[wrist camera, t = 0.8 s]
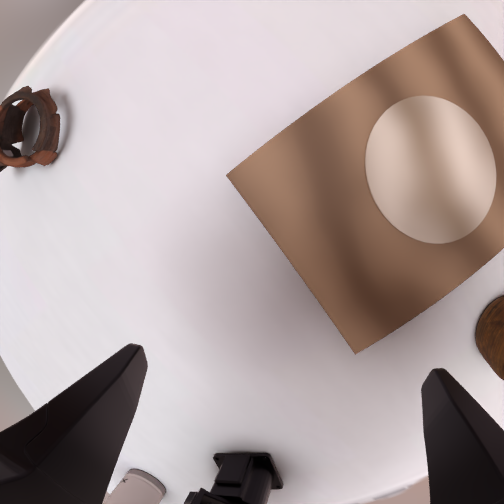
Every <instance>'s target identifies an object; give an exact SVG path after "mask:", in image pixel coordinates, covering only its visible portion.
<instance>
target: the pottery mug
mask: <svg viewBox="0 0 504 504" xmlns="http://www.w3.org/2000/svg"><path fill="white" fill-rule="evenodd" d="M31 92H32V89H31V88H30V87H29V86H26V87H23V88H21V89H20V90H19V91H17V92H15V93H14V94H12V95H10V96H9V97H8V98H6V99H5V100H4V101H3V102H2V104H1V105H0V172H1V171H2V170H3V169H5V168H6V167H7V166H13V167H28V166H31V165H34V164H35V163H38V164H41V165H43V166H45V165H49V164H50V163H51V162H52V161H53V160H54V159H55V158H56V157H57V153H56V152H55V151H56V150H57V148H58V142H59V133H60V115H59V114H56V111H57V106H56V104H55V102H54V101H53V100H52V98H51V96H50V90H49V88H48V89H43V90H39V91H37V92H34V93H31ZM18 100H22V101H20V102H19V103H18V104H17V105H16V106H14V105H12V103H14V102H15V101H18ZM33 104H34V105H35V106H36V108H37V109H38V112H39V116H40V131H39V135H38V138H37V141H36V143H35V145H34V146H33V148H32V150H33V151H36V152H35V153H34V154H32V155H31V156H26V155H25V156H22V155H21V153H20V150H19V149H17V148H15V147H14V146H12V145H11V144H14V143H17V142H22V141H23V135H22V125H23V119H24V116H25V114H26V112H27V111H28V109H29V108H30V107H31V106H32V105H33Z"/></svg>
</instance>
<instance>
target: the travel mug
mask: <svg viewBox="0 0 504 504" xmlns="http://www.w3.org/2000/svg"><path fill="white" fill-rule="evenodd" d="M164 494H165V488H164V486H163V485H162V484H161V483H160V482H159V481H158V480H157V479H156V478H154V477H153V476H151V475H150V474H148V473H146V472H143V471H141V470H136V469H132V470H129V471H128V473H127V474H126V475H125V477H124V478H123V479H122V480H121V481H120V483H119V484H118V485H117V487H116V488H115V489H114V490H113V492H112V493H111V494H110V495H109V497H108V498H107V500H105V502H104V503H103V504H159V502H160V501H161V499H162V498H163V496H164Z"/></svg>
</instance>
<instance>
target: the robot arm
mask: <svg viewBox="0 0 504 504" xmlns="http://www.w3.org/2000/svg"><path fill="white" fill-rule="evenodd" d="M147 367H148V364H147V360H146V356H145V352H144V349H143V347H142V346H141V345H137V344H132V343H130V344H128V345H126V346H125V347H124V348H122V349H121V350H119V351H118V352H117V353H115V354H114V355H113V356H111V357H110V358H108V359H107V360H106V361H104V362H103V363H101V364H100V365H99V366H97V367H96V368H95V369H93V370H92V371H90V372H89V373H88V374H86V375H85V376H83V377H82V378H81V379H79V380H78V381H77V382H75V383H74V384H72V385H71V386H70V387H68V388H67V389H66V390H64V391H63V392H61V393H60V394H59V395H57V396H56V397H54V398H53V399H52V400H50V401H49V402H48V403H46V404H45V405H43V406H42V407H40V408H39V409H38V410H36V411H35V412H33V413H32V414H31V415H29V416H27V417H26V418H24V419H22V420H21V421H19V422H18V423H16V424H14V425H12V426H10V427H9V428H7V429H5V430H3V431H1V432H0V504H102V502H103V499H104V497H105V493H106V491H107V488H108V485H109V482H110V479H111V476H112V474H113V471H114V468H115V465H116V463H117V460H118V457H119V454H120V452H121V449H122V446H123V444H124V441H125V438H126V436H127V433H128V431H129V428H130V425H131V423H132V420H133V418H134V415H135V412H136V409H137V406H138V402H139V398H140V394H141V391H142V387H143V383H144V379H145V376H146V372H147ZM421 393H422V409H423V429H424V439H425V446H426V455H427V464H428V475H429V486H430V504H504V430H503V429H502V428H501V427H500V426H499V425H498V424H497V423H496V422H495V420H494V419H493V418H492V417H491V416H490V415H489V414H488V413H487V412H486V411H485V410H484V409H483V408H482V407H481V406H480V404H479V403H478V402H477V401H476V400H475V399H474V398H473V397H472V396H471V395H470V394H469V393H468V392H467V391H466V390H465V389H464V388H463V387H462V386H461V385H460V384H459V383H458V382H457V381H456V380H455V379H454V378H453V377H452V376H451V375H450V374H449V373H448V372H447V370H445V369H444V368H436V369H433V370H431V372H430V373H429V375H428V377H427V378H426V380H425V382H424V383H423V385H422V389H421ZM265 457H266V458H265ZM213 459H214V461H215V463H216V464H217V466H218V468H219V472H218V474H217V476H216V478H215V480H214V485H213V487H212V489H211V491H210V492H208V491H206V490H205V489H203V488H200V490H199V492H190V493H189V495H188V497H187V499H186V500H185V502H184V504H267V501H268V497H269V494H270V490H271V489H282V488H283V483H282V481H281V479H280V476H279V474H278V472H277V470H276V467H275V465H274V463H273V461H272V458H271V456H270V455H269V454H267V453H259V454H215V455H214V457H213Z"/></svg>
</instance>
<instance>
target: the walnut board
mask: <svg viewBox="0 0 504 504" xmlns="http://www.w3.org/2000/svg"><path fill="white" fill-rule="evenodd" d="M226 176H227V177H228V179H229V180H230V181H231V183H232V184H233V185H234V187H235V188H236V189H237V191H238V192H239V193H240V195H241V196H242V197H243V199H244V200H245V201H246V203H247V204H248V205H249V207H250V208H251V209H252V211H253V212H254V213H255V215H256V216H257V217H258V219H259V220H260V222H261V223H262V224H263V226H264V227H265V228H266V230H267V231H268V232H269V234H270V235H271V237H272V238H273V239H274V241H275V242H276V243H277V245H278V246H279V247H280V249H281V250H282V252H283V253H284V254H285V256H286V257H287V258H288V260H289V261H290V263H291V264H292V265H293V267H294V268H295V270H296V271H297V272H298V274H299V275H300V277H301V278H302V279H303V281H304V282H305V284H306V285H307V286H308V288H309V289H310V291H311V292H312V293H313V295H314V296H315V298H316V299H317V300H318V302H319V303H320V305H321V306H322V307H323V309H324V310H325V312H326V313H327V315H328V316H329V317H330V319H331V320H332V322H333V323H334V324H335V326H336V327H337V329H338V330H339V332H340V333H341V335H342V336H343V337H344V339H345V340H346V342H347V343H348V345H349V346H350V347H351V349H352V350H353V352H354V353H355V354H357V353H359V352H360V351H362V350H364V349H365V348H367V347H369V346H370V345H372V344H374V343H375V342H377V341H379V340H380V339H382V338H384V337H385V336H387V335H388V334H390V333H392V332H393V331H395V330H396V329H398V328H399V327H401V326H402V325H404V324H405V323H407V322H408V321H410V320H411V319H413V318H414V317H416V316H417V315H419V314H420V313H422V312H423V311H425V310H426V309H427V308H429V307H430V306H432V305H433V304H434V303H436V302H437V301H439V300H440V299H441V298H443V297H444V296H445V295H447V294H448V293H449V292H451V291H452V290H453V289H455V288H456V287H457V286H459V285H460V284H461V283H463V282H464V281H465V280H466V279H468V278H469V277H470V276H471V275H473V274H474V273H475V272H476V271H478V270H479V269H480V268H481V267H482V266H484V265H485V264H486V263H487V262H488V261H490V260H491V259H492V258H493V257H494V256H495V255H496V254H498V253H499V252H500V251H501V250H502V249H503V248H504V61H503V59H502V58H501V57H500V55H499V54H498V53H497V51H496V50H495V49H494V48H493V46H492V45H491V44H490V43H489V41H488V40H487V39H486V38H485V36H484V35H483V34H482V33H481V32H480V31H479V29H478V28H477V27H476V26H475V25H474V24H473V23H472V22H471V20H470V19H469V18H468V17H467V16H466V15H465V14H463V15H461V16H459V17H457V18H456V19H454V20H452V21H450V22H448V23H446V24H444V25H443V26H441V27H439V28H437V29H435V30H434V31H432V32H430V33H428V34H427V35H425V36H423V37H421V38H420V39H418V40H416V41H414V42H413V43H411V44H409V45H408V46H406V47H404V48H403V49H401V50H400V51H398V52H396V53H395V54H393V55H391V56H390V57H388V58H387V59H385V60H383V61H382V62H380V63H379V64H377V65H376V66H374V67H372V68H371V69H369V70H368V71H366V72H365V73H363V74H362V75H360V76H359V77H357V78H356V79H354V80H353V81H351V82H350V83H348V84H347V85H345V86H344V87H342V88H341V89H339V90H338V91H337V92H335V93H334V94H332V95H331V96H329V97H328V98H326V99H325V100H324V101H322V102H321V103H319V104H318V105H317V106H315V107H314V108H312V109H311V110H310V111H308V112H307V113H305V114H304V115H303V116H301V117H300V118H299V119H297V120H296V121H295V122H293V123H292V124H291V125H289V126H288V127H287V128H285V129H284V130H283V131H281V132H280V133H279V134H277V135H276V136H275V137H273V138H272V139H271V140H269V141H268V142H267V143H266V144H264V145H263V146H262V147H260V148H259V149H258V150H257V151H255V152H254V153H253V154H252V155H250V156H249V157H248V158H247V159H245V160H244V161H243V162H242V163H240V164H239V165H238V166H237V167H235V168H234V169H233V170H232V171H230V172H229V173H228V174H227V175H226Z"/></svg>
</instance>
